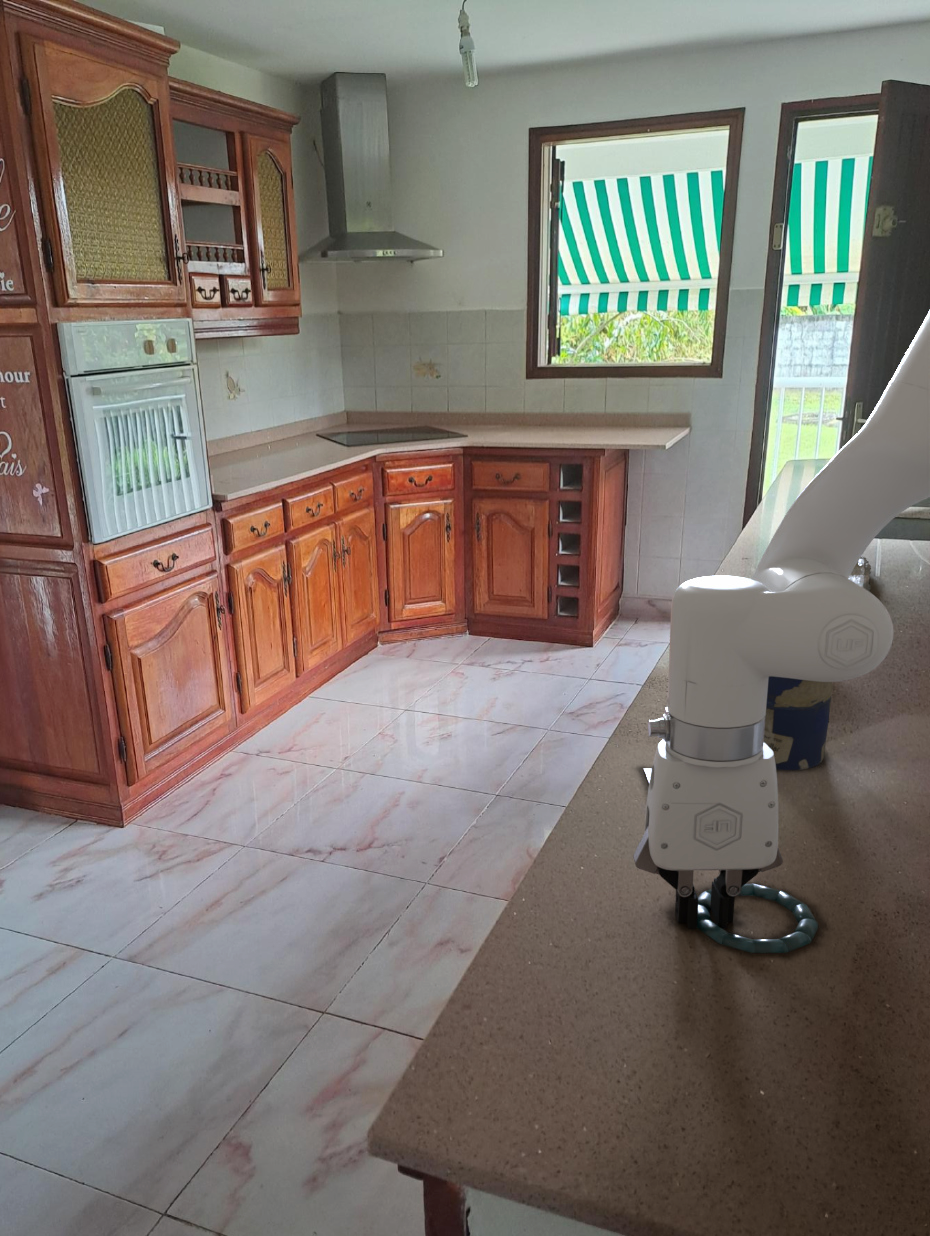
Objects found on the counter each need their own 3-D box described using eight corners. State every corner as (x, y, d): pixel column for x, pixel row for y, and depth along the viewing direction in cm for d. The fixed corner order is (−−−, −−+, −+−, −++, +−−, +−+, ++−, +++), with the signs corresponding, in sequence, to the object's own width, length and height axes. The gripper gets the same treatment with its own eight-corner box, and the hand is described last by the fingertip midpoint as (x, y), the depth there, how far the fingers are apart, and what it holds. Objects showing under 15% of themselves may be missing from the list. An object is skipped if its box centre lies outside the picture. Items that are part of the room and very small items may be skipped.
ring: (794, 895, 90) (796, 879, 89) (833, 962, 80) (835, 946, 80) (680, 896, 90) (681, 881, 90) (705, 964, 81) (705, 947, 80)
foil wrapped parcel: (808, 614, 175) (870, 621, 171) (813, 586, 173) (875, 591, 169) (815, 559, 204) (867, 564, 201) (818, 534, 202) (872, 538, 199)
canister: (808, 744, 120) (822, 601, 114) (836, 777, 112) (853, 624, 105) (728, 747, 121) (737, 604, 115) (750, 780, 112) (762, 628, 106)
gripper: (621, 753, 76) (616, 955, 83) (832, 748, 75) (810, 953, 82) (608, 717, 83) (605, 905, 90) (801, 712, 82) (784, 903, 89)
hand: (703, 926), depth 86 cm, fingers closed on ring, 2 cm apart
